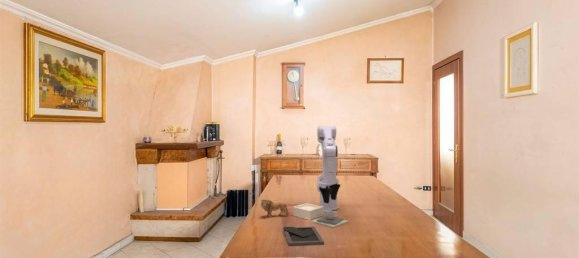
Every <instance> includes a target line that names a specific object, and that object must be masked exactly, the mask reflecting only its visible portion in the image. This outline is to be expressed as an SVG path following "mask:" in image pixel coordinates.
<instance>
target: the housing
mask: <svg viewBox="0 0 579 258" xmlns="http://www.w3.org/2000/svg"><path fill="white" fill-rule="evenodd" d="M323 211H324V207H323V206H320V205H316V204H314V203H313V204H312V203H310V202H309V203H308V202H305V203H301V204H298V205H294V206H292V211H291V212H292V213H291V214H292V216H293V217H297V218H300V219H305V220H309V221H310V220H311V221H312V220H315V219H318V218H321V217H323V216H324V215H323Z"/></svg>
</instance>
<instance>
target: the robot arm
mask: <svg viewBox="0 0 579 258" xmlns="http://www.w3.org/2000/svg"><path fill="white" fill-rule="evenodd" d="M316 131H317V132H316V134H317V135H316V136H317V142H318V143H319V144H321V147H322V148H321V149H322V150H321V156H322V159H321V160H322V162H321V163H322V166H321V167H322V173H321V174H320V175H319V176H317V179H316V180H317V181H316V183H317V184H316V190H317V191H316V192H319V206H323V207H324V210H330V211H336V210H339V207H338V192H339V189H340V187H341V184H340V183H339V179H338V178H337V165H338V164H337V160H338V157H339V148H338V145H336V137H337V127H336V126H335V125H331V126H330V125H318V126H317V129H316Z"/></svg>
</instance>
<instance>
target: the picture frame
mask: <svg viewBox="0 0 579 258" xmlns="http://www.w3.org/2000/svg"><path fill="white" fill-rule="evenodd" d="M282 230H283V233H284V236H285V238H286V239H285V240H286V244H287V246H288V247H297V246H298V247H299V246H300V247H301V246H303V247H304V246H305V247H306V246H324V245H325V241H324V240H323V237H322V236H321V235H320V233H319V231H318V230H317V228H316V226H313V225H312V226H283V228H282Z"/></svg>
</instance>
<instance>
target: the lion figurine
mask: <svg viewBox="0 0 579 258" xmlns="http://www.w3.org/2000/svg"><path fill="white" fill-rule="evenodd" d="M260 207H261V209H263V210H264V211H265V212H267V214H266V217H268V219H269V218H270V219H271V218H272V213H273V211H274V212H275V211H278V210H279V211H280V213H279V214H278V216H282V215H283V213H284V217H288V215H290V213H289V211H288V206H287V205H286V203H285V202H282V201H280V202H273V201H272V200H270V199H268V198H262V199H261V200H260Z"/></svg>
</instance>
